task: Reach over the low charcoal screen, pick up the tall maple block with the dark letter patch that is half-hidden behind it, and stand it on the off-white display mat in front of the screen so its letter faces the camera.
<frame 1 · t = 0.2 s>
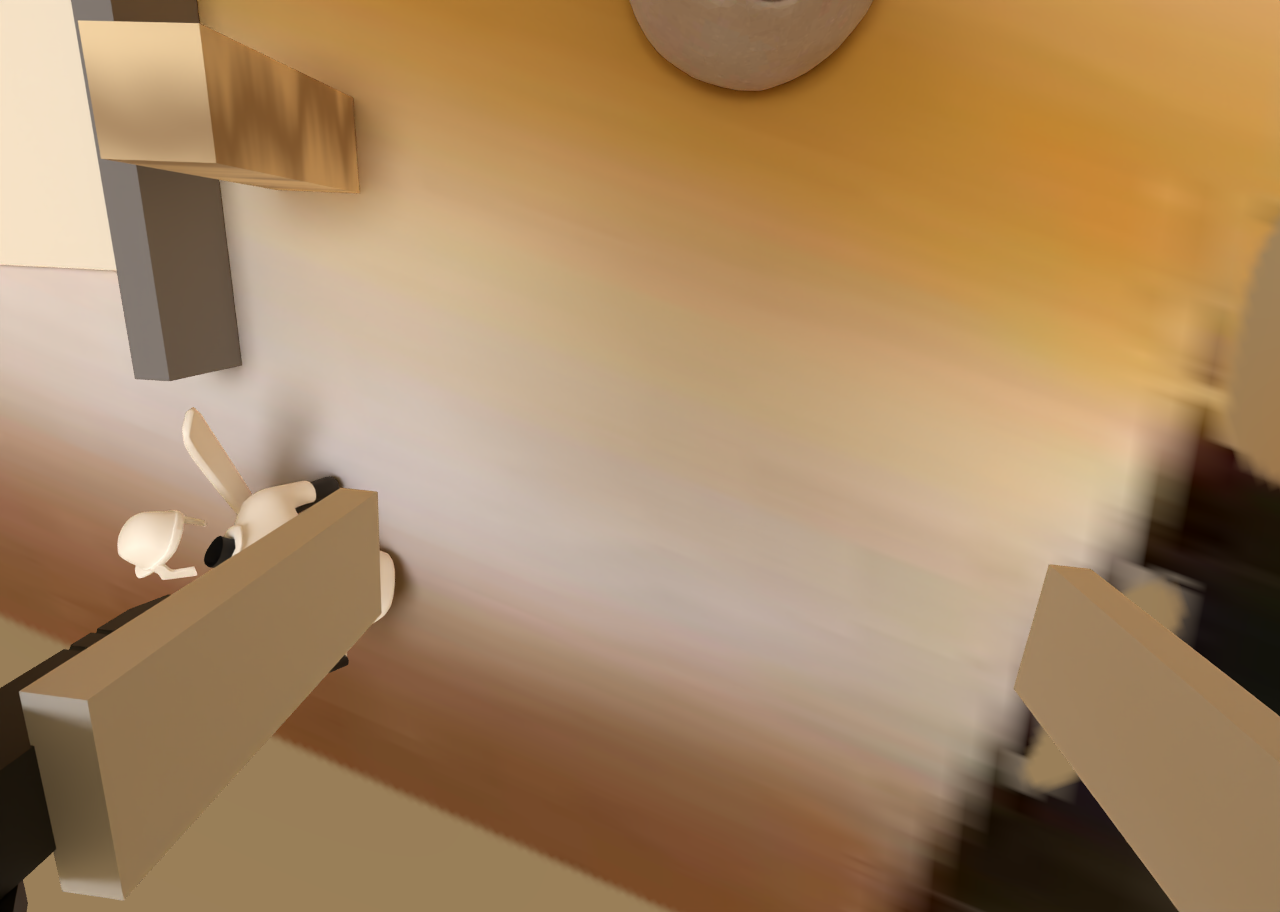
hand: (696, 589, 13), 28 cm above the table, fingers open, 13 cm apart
letter block: (314, 144, 38), on the table
cricket player figurine: (318, 515, 45), on the table
display mat: (36, 134, 39), on the table
screen: (197, 140, 38), on the table
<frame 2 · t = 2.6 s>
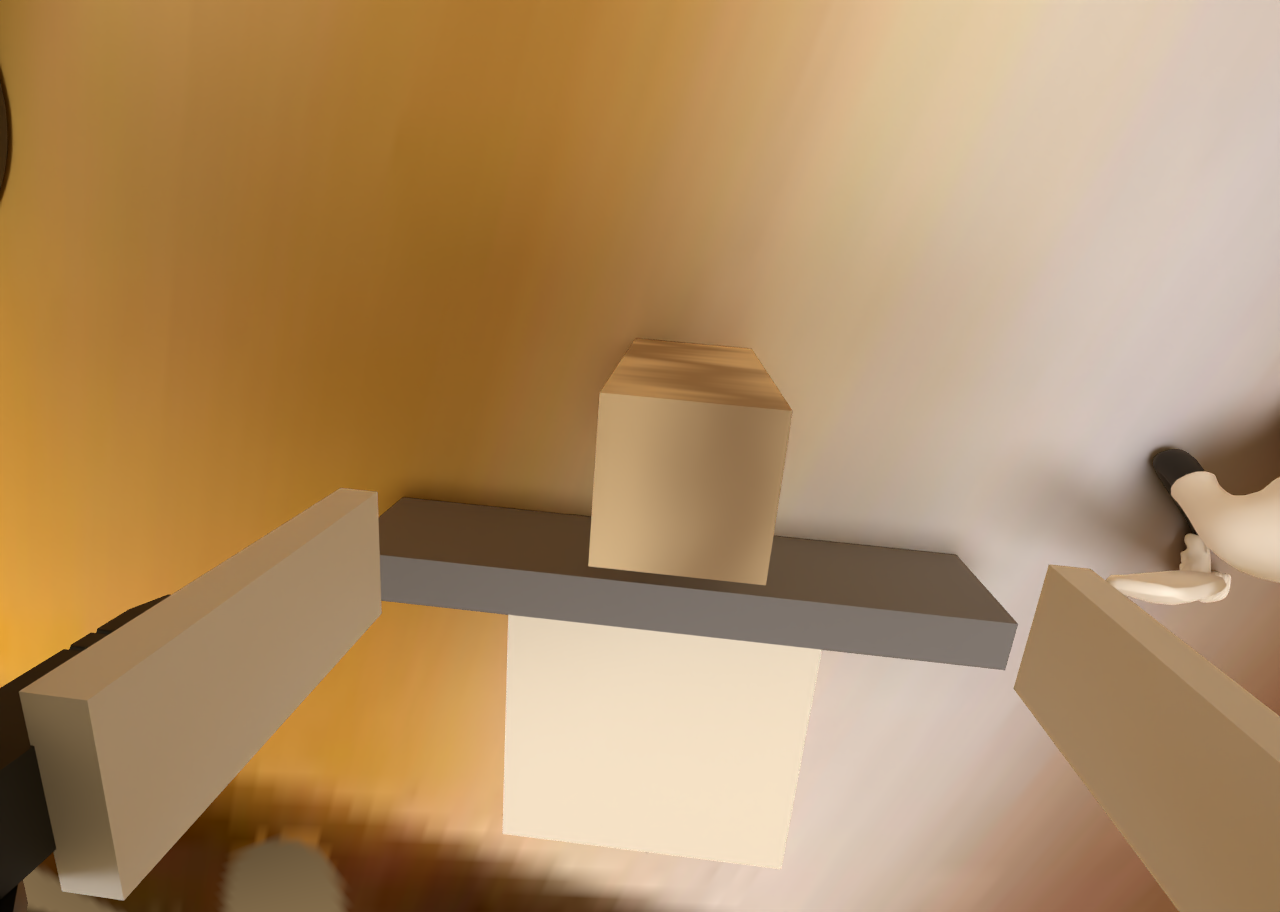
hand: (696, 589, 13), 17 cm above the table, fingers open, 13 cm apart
letter block: (687, 400, 29), on the table
cricket player figurine: (1206, 493, 29), on the table
display mat: (653, 721, 34), on the table
screen: (672, 545, 31), on the table
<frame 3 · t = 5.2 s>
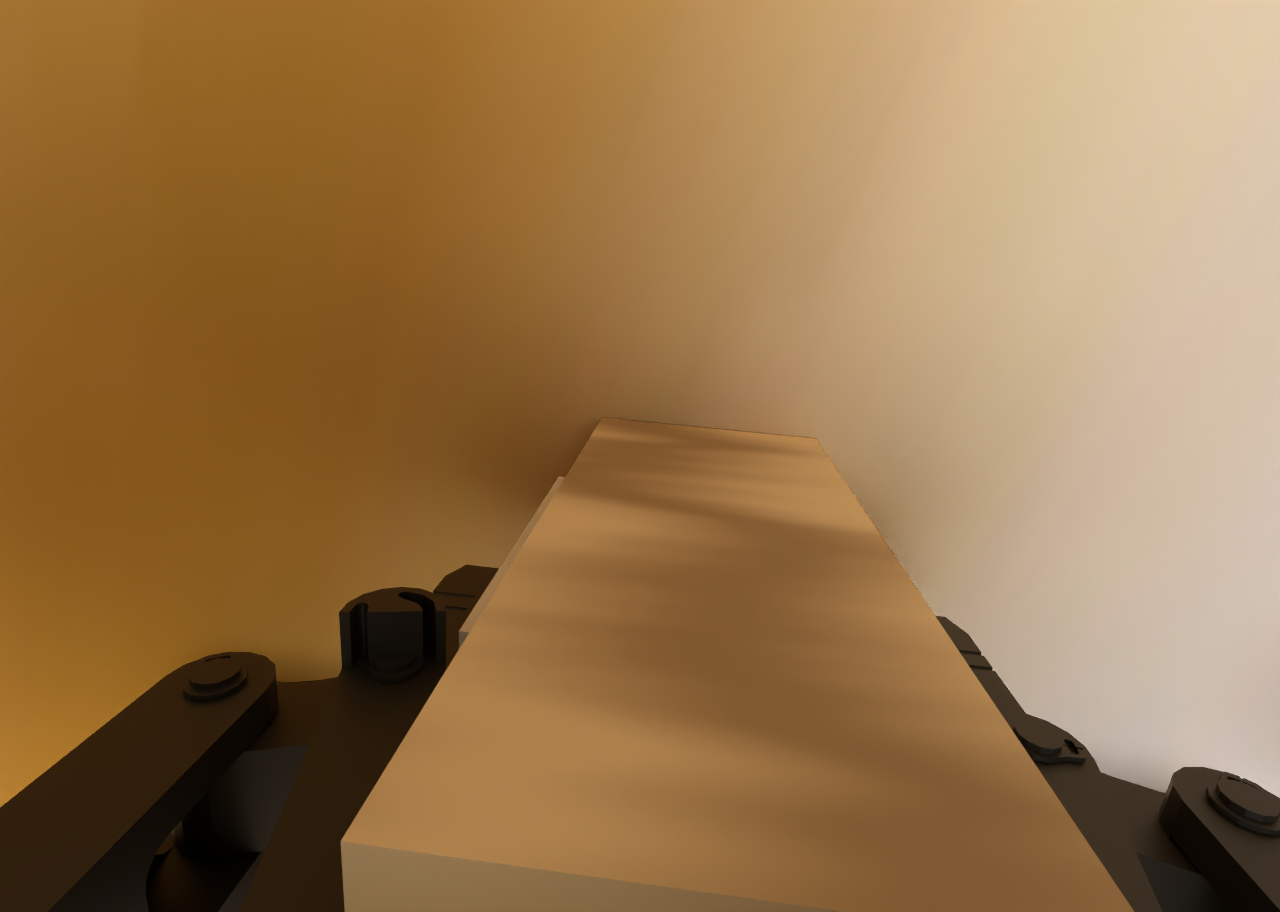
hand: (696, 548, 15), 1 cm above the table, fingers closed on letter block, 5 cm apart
letter block: (696, 526, 16), on the table, touching gripper
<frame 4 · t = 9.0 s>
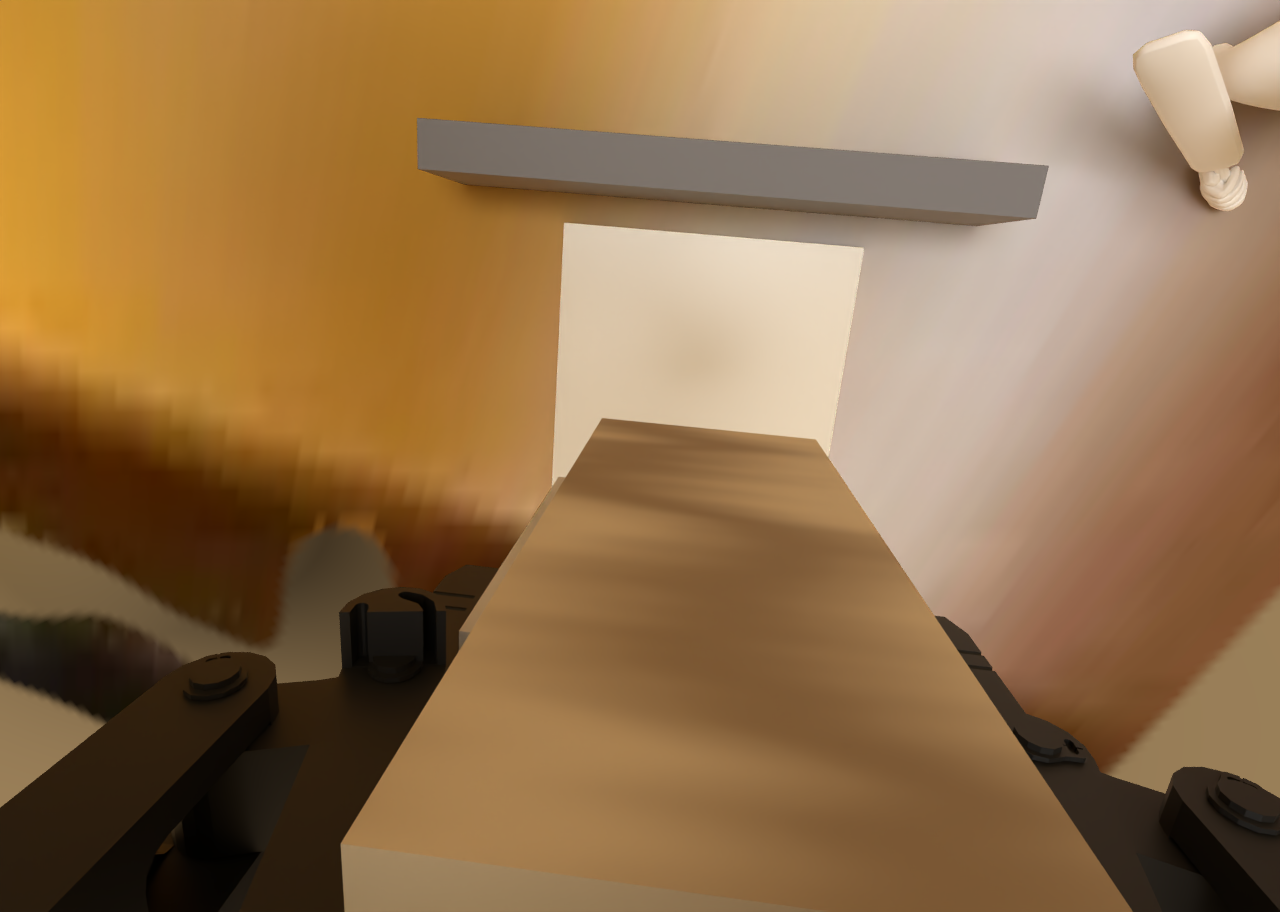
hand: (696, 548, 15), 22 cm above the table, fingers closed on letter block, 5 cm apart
letter block: (696, 527, 16), point 21 cm above the table, touching gripper
cricket player figurine: (1223, 108, 31), on the table
display mat: (696, 379, 36), on the table
screen: (717, 183, 33), on the table
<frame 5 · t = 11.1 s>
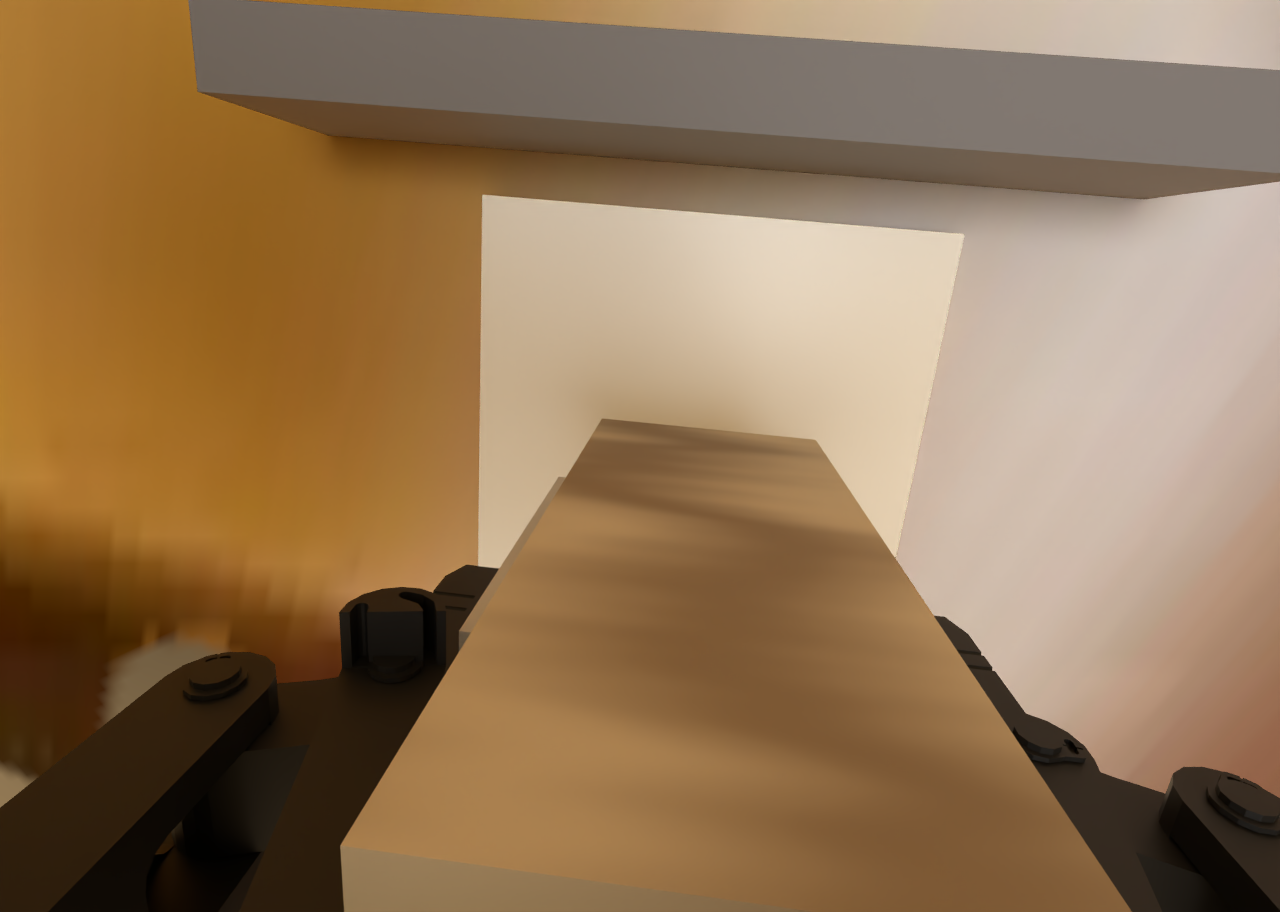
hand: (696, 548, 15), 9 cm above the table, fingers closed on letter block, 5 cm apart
letter block: (696, 527, 16), point 8 cm above the table, touching gripper
display mat: (693, 437, 24), on the table
screen: (727, 131, 21), on the table
when the fingers open (4 cm above the table, at t = 13.0 s): letter block drops 1 cm, resting on display mat.
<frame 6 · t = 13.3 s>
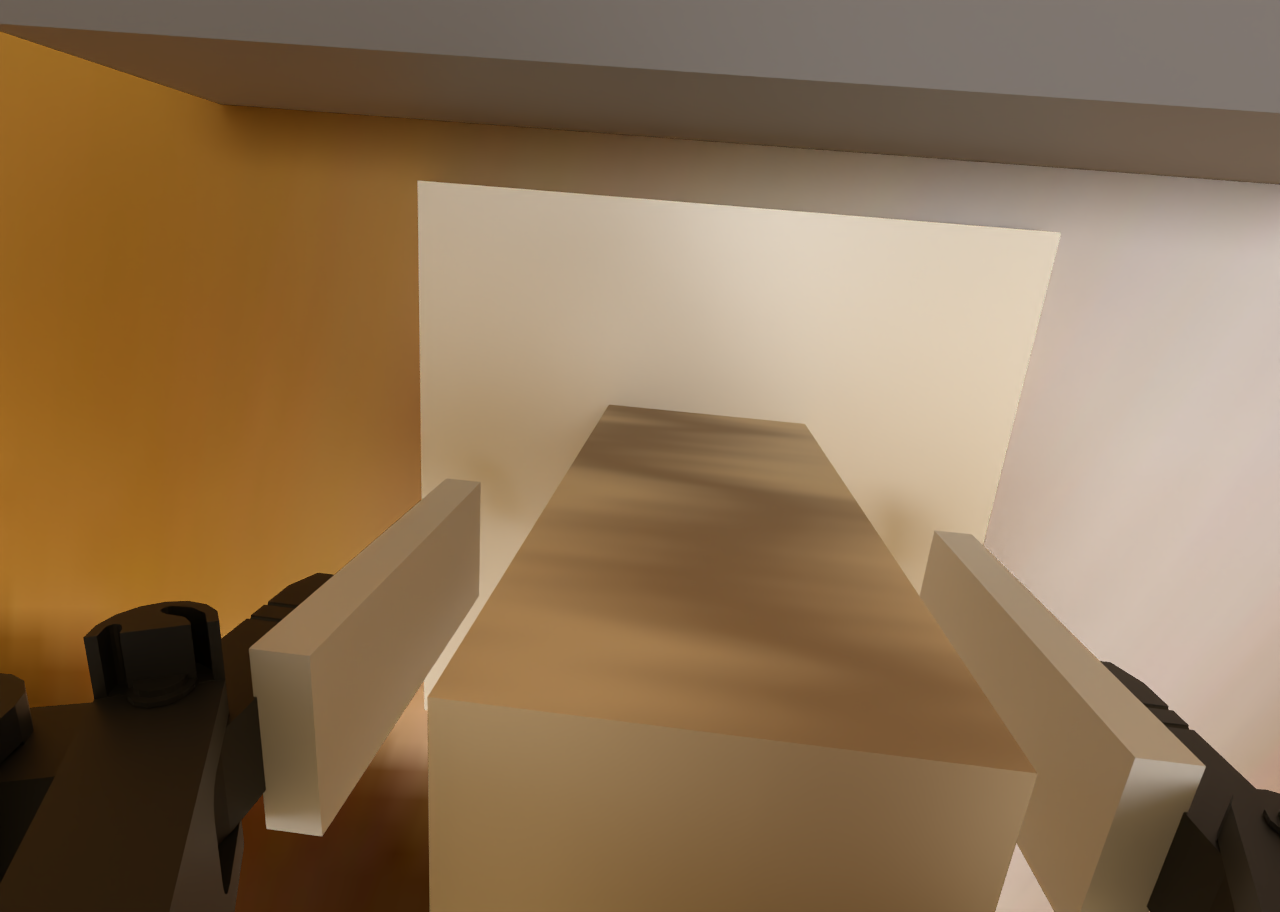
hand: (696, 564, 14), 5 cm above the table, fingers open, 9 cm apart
letter block: (695, 505, 18), point 1 cm above the table, touching display mat
display mat: (696, 493, 19), on the table
screen: (741, 97, 16), on the table
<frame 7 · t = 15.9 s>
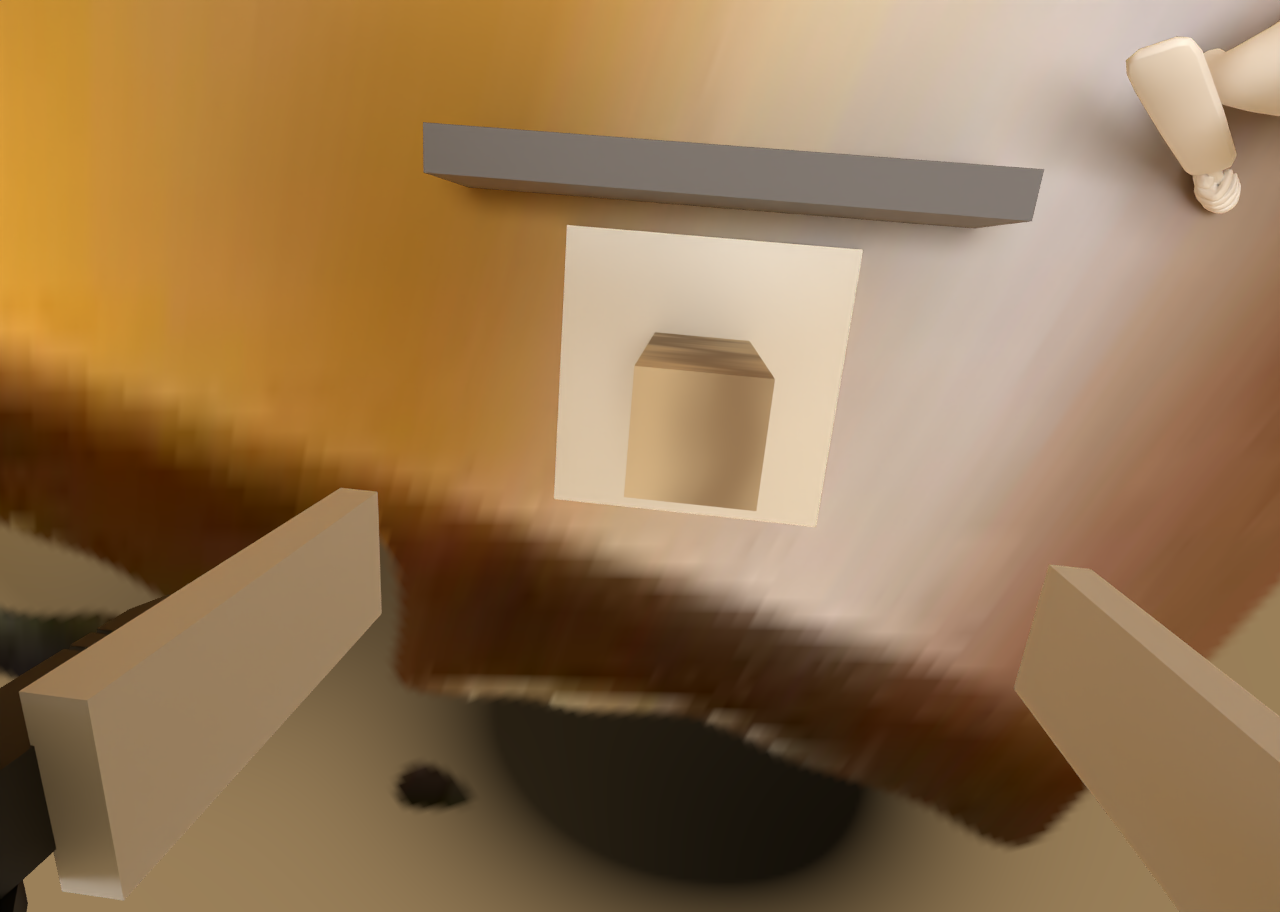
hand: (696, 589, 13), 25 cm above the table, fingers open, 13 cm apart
letter block: (697, 383, 36), point 1 cm above the table, touching display mat
cricket player figurine: (1217, 112, 31), on the table
display mat: (697, 380, 37), on the table
screen: (718, 186, 34), on the table
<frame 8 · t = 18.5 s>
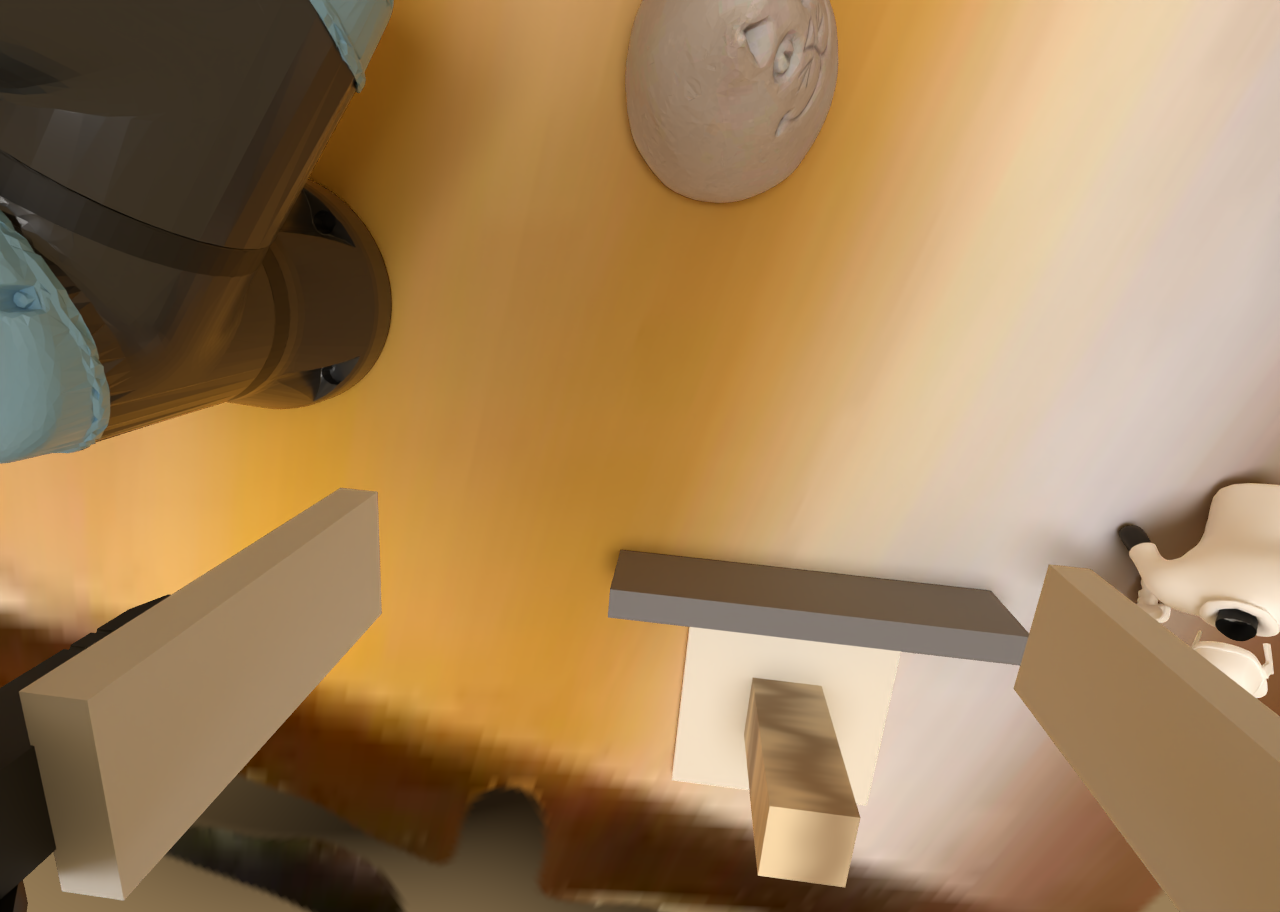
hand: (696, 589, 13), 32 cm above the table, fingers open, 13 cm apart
letter block: (782, 710, 49), point 1 cm above the table, touching display mat
sculpture: (725, 90, 39), on the table
cricket player figurine: (1155, 552, 45), on the table
display mat: (780, 702, 50), on the table
screen: (800, 582, 47), on the table
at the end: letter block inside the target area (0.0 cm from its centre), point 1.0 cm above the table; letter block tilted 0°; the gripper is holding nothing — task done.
